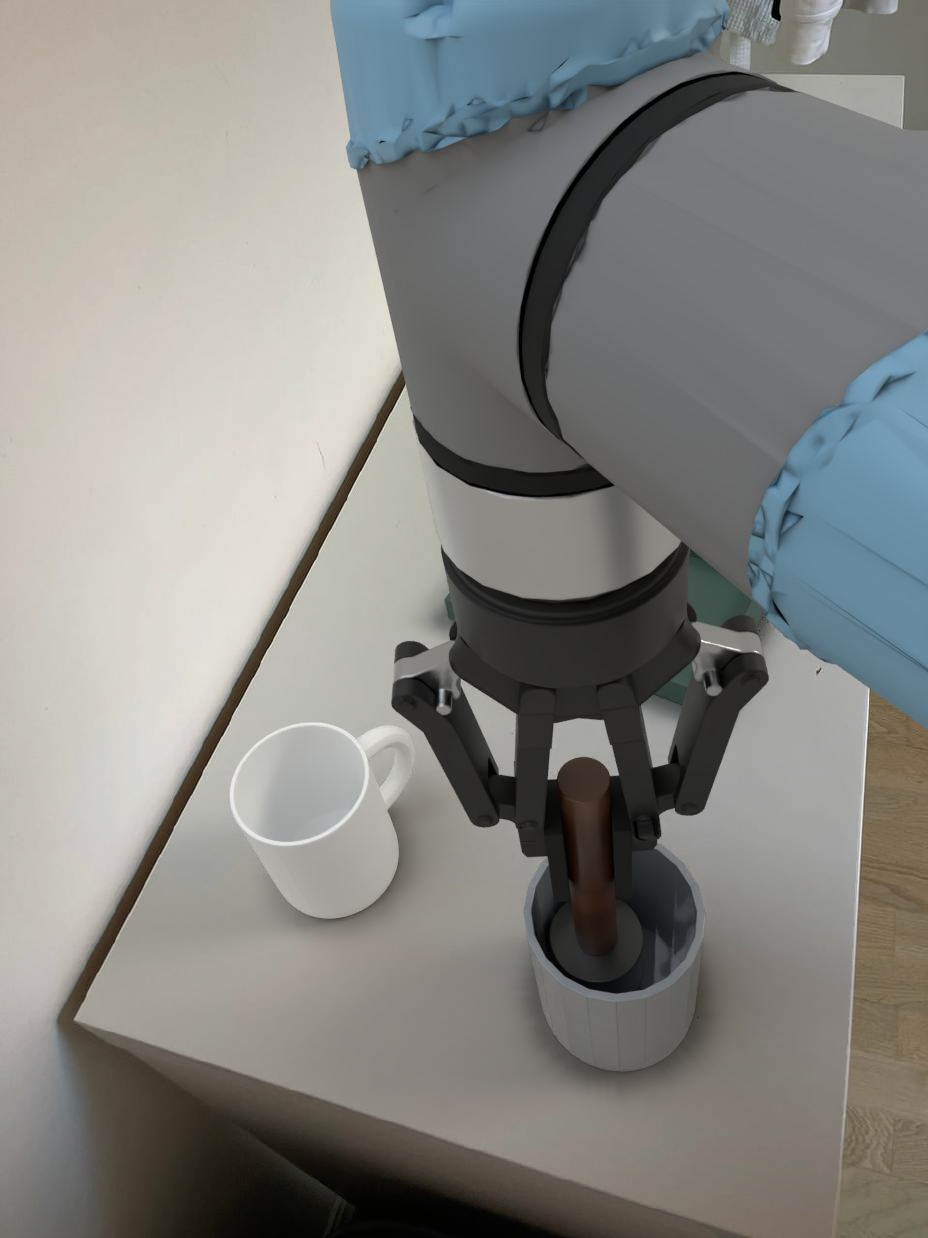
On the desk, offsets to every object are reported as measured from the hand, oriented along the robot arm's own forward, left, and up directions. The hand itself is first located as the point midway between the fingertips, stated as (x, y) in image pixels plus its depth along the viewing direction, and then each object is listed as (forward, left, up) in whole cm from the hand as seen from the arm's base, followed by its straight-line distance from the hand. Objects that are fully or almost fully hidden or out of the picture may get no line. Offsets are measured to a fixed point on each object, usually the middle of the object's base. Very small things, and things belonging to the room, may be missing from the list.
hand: (591, 873), depth 47 cm
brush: (0, 0, -11) cm, 11 cm away
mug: (+18, -1, -14) cm, 23 cm away
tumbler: (-1, 0, -14) cm, 14 cm away
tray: (+12, -27, -14) cm, 33 cm away
